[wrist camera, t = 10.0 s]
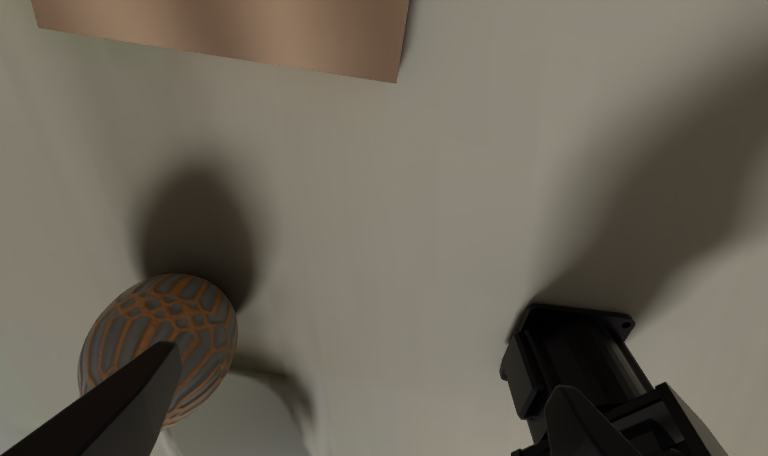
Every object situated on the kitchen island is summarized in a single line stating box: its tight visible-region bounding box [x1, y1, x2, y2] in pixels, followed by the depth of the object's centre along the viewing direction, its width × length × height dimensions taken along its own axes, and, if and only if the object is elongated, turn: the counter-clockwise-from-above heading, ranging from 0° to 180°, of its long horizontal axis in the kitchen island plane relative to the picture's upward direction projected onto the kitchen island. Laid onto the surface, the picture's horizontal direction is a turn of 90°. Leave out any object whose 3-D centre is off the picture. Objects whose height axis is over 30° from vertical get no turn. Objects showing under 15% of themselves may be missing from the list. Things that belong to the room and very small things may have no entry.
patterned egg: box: [77, 273, 238, 432], centre depth 21 cm, size 7×7×9 cm
